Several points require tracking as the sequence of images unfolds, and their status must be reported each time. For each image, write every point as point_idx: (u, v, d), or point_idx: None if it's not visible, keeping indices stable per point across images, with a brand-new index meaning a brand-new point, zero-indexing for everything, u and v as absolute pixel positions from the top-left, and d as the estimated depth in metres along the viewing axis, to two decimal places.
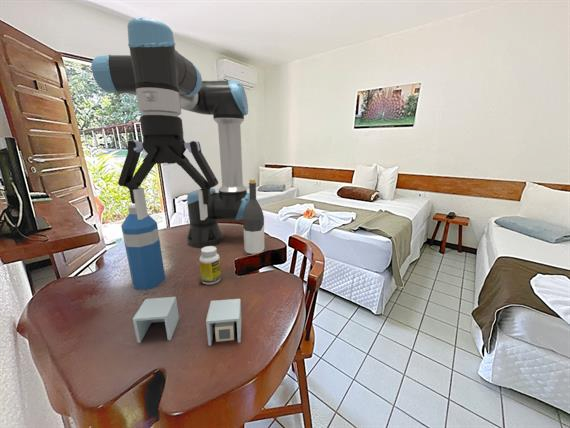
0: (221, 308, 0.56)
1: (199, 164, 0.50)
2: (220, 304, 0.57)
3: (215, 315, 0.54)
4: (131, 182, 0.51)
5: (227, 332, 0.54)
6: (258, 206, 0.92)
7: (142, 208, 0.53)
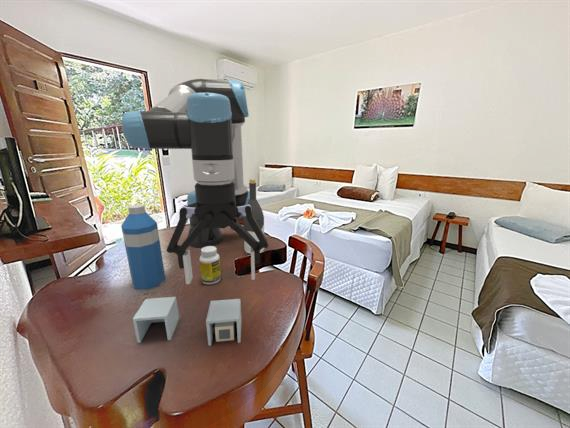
0: (221, 308, 0.56)
1: (253, 227, 0.50)
2: (220, 304, 0.57)
3: (215, 315, 0.54)
4: (181, 248, 0.49)
5: (227, 332, 0.54)
6: (258, 206, 0.92)
7: (189, 272, 0.51)
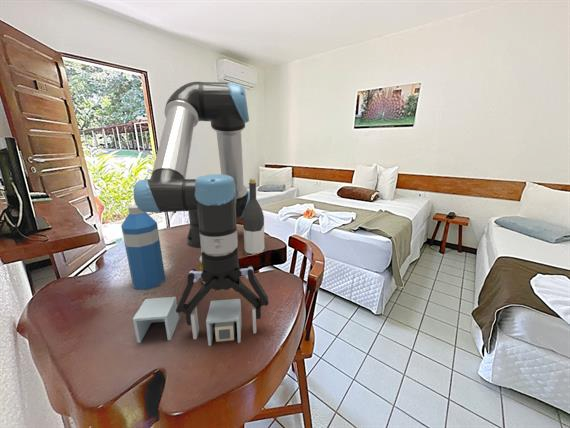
0: (221, 308, 0.56)
1: (255, 288, 0.54)
2: (220, 304, 0.57)
3: (215, 315, 0.54)
4: (189, 308, 0.53)
5: (227, 332, 0.54)
6: (258, 206, 0.92)
7: (196, 327, 0.56)
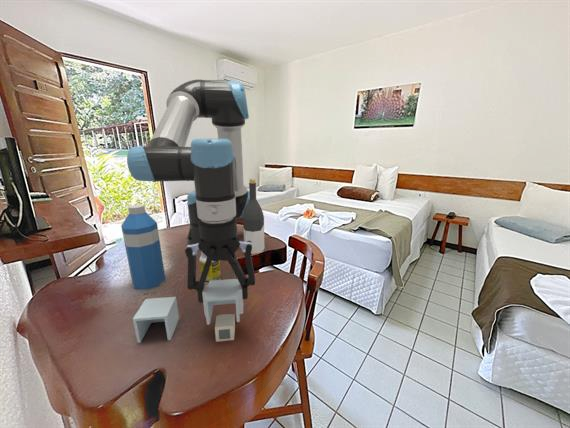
0: (220, 287, 0.55)
1: (247, 265, 0.52)
2: (219, 283, 0.56)
3: (213, 294, 0.53)
4: (199, 285, 0.52)
5: (227, 332, 0.54)
6: (258, 206, 0.92)
7: None
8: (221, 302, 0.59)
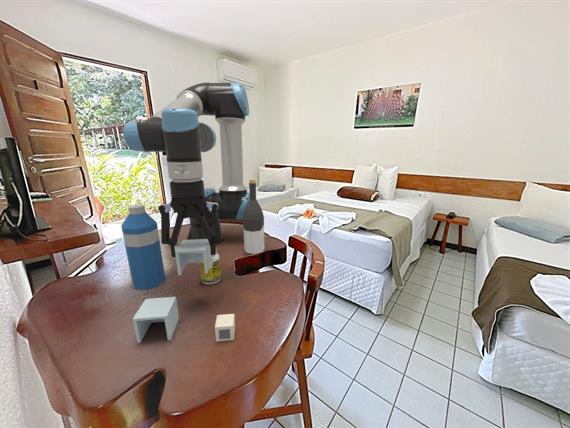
0: (191, 244, 0.62)
1: (214, 222, 0.60)
2: (190, 242, 0.64)
3: (184, 248, 0.60)
4: (171, 240, 0.60)
5: (227, 332, 0.54)
6: (258, 206, 0.92)
7: None
8: (194, 260, 0.66)
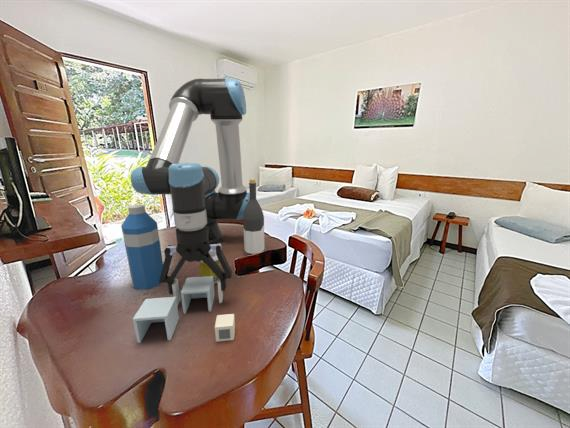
0: (195, 283, 0.66)
1: (221, 262, 0.63)
2: (195, 280, 0.67)
3: (189, 288, 0.63)
4: (170, 279, 0.63)
5: (227, 332, 0.54)
6: (258, 206, 0.92)
7: (178, 296, 0.65)
8: (198, 296, 0.70)
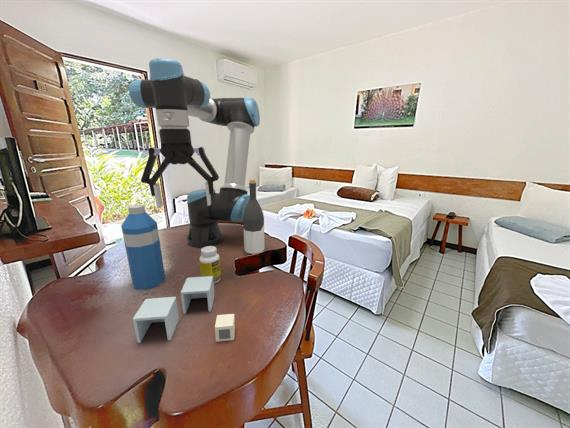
0: (195, 283, 0.66)
1: (205, 164, 0.67)
2: (195, 280, 0.67)
3: (189, 288, 0.63)
4: (151, 179, 0.66)
5: (227, 332, 0.54)
6: (258, 206, 0.92)
7: (160, 199, 0.69)
8: (198, 296, 0.70)
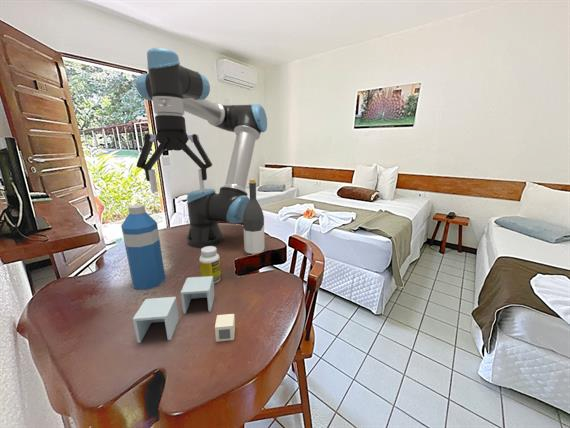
0: (195, 283, 0.66)
1: (199, 150, 0.69)
2: (195, 280, 0.67)
3: (189, 288, 0.63)
4: (147, 164, 0.68)
5: (227, 332, 0.54)
6: (258, 206, 0.92)
7: (154, 184, 0.71)
8: (198, 296, 0.70)
